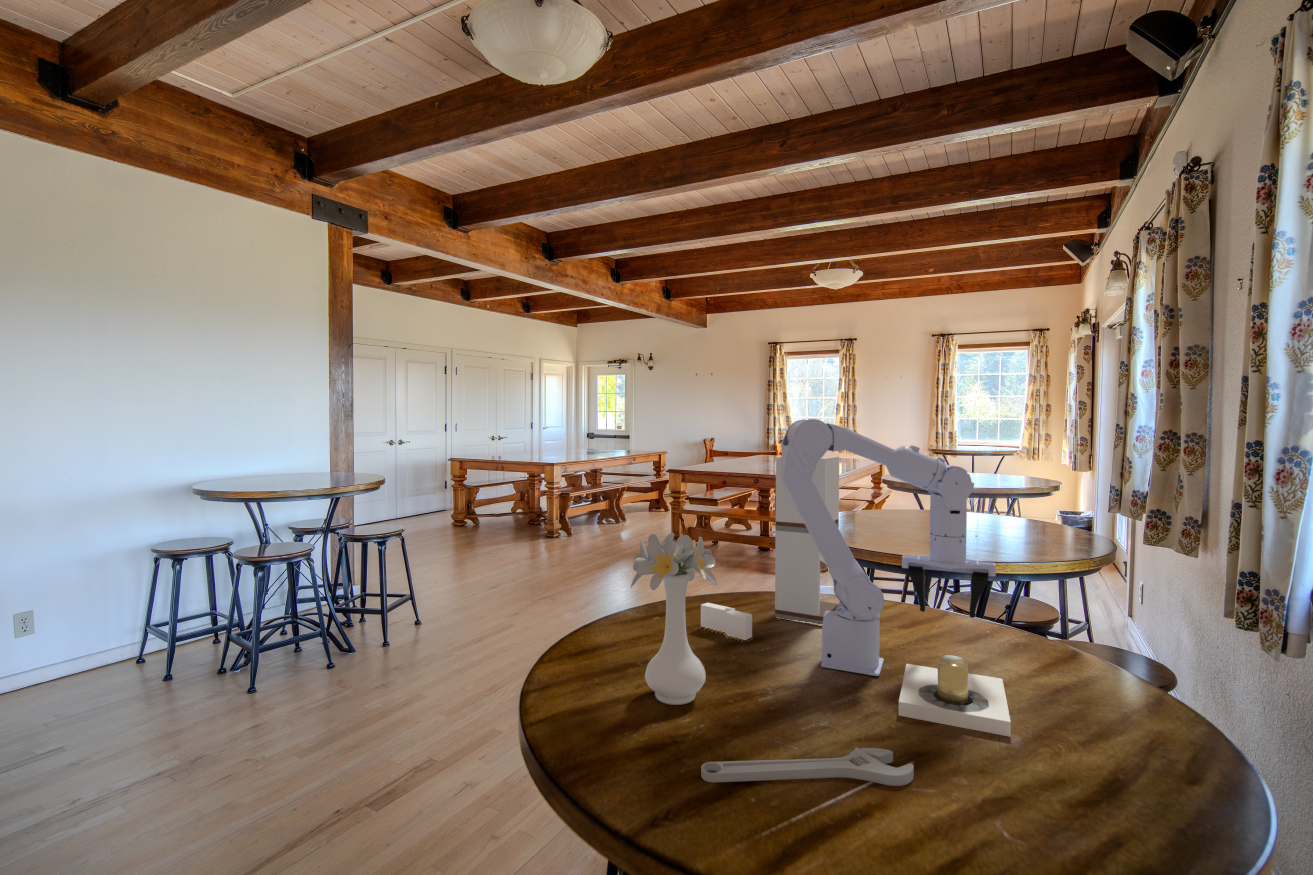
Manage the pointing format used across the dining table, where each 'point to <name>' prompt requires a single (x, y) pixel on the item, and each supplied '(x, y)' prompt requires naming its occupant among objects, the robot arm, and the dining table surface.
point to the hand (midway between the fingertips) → (947, 612)
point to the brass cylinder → (953, 682)
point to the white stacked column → (802, 549)
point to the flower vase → (674, 614)
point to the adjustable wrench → (814, 768)
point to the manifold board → (980, 713)
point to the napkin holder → (726, 620)
